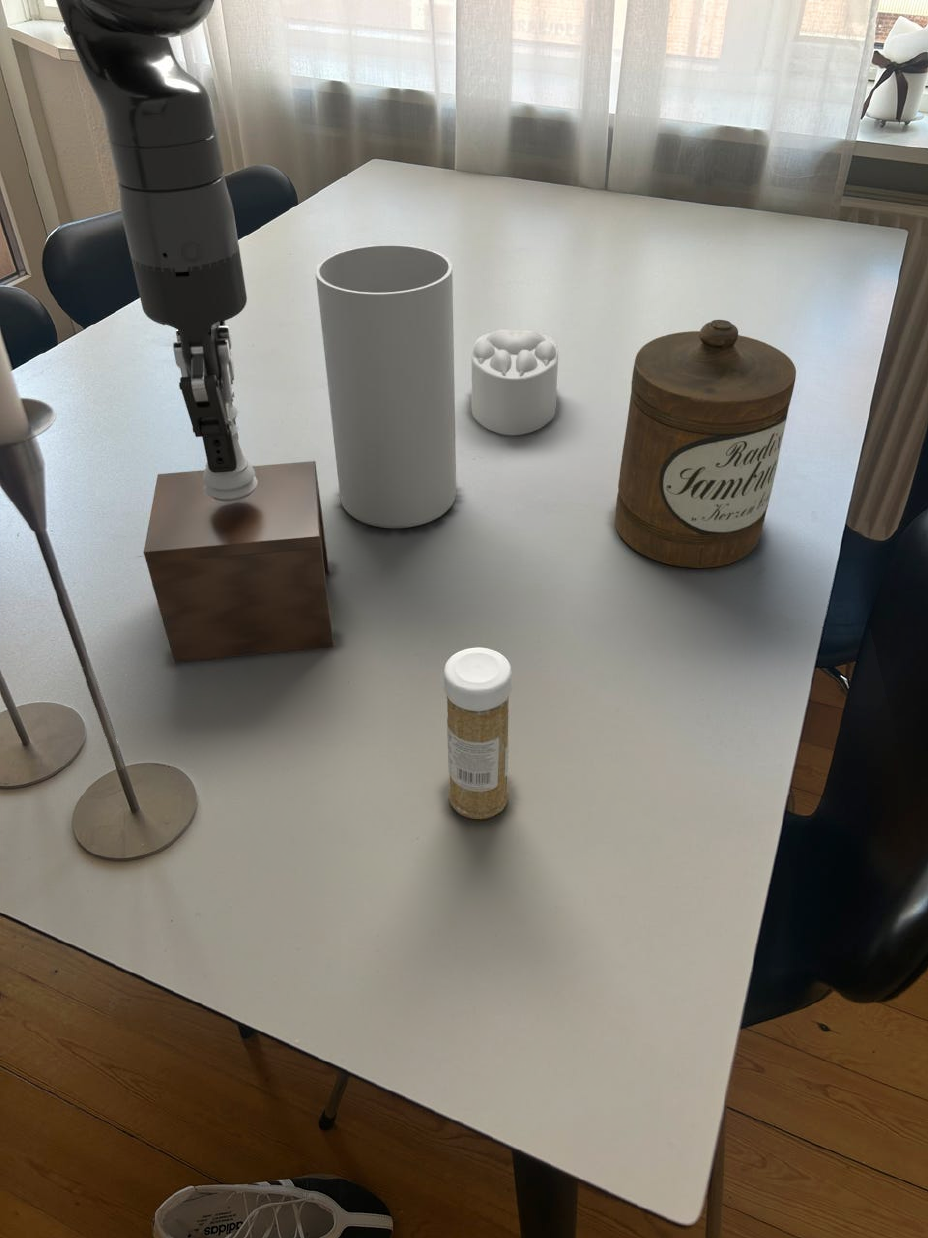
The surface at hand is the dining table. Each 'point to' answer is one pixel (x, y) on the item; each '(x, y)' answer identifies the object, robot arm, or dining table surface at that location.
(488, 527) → the dining table surface
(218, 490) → the rook chess piece
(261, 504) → the wooden lidded box
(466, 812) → the sprinkles bottle
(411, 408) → the cylinder vase
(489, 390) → the lumpy-topped squat cylinder
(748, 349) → the wooden container
